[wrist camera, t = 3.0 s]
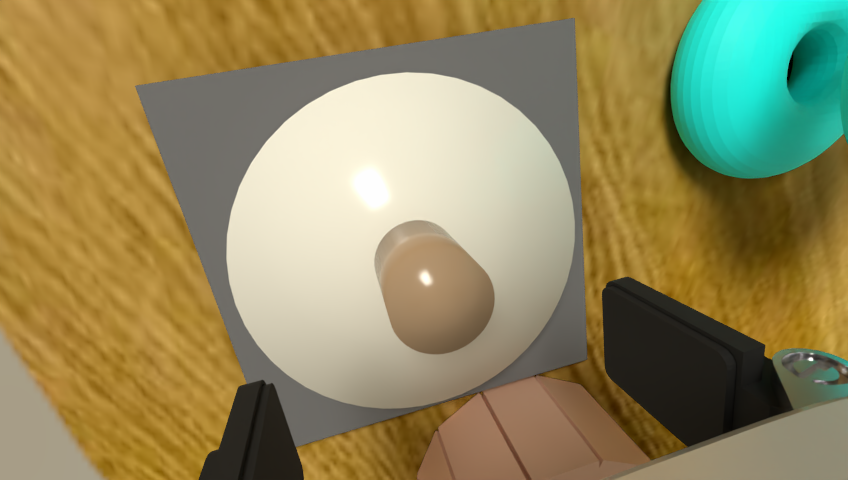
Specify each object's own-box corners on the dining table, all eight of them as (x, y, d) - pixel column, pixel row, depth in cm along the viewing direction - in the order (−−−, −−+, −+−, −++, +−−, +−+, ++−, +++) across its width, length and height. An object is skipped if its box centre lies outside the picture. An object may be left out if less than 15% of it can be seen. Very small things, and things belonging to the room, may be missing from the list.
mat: (566, 20, 18) (574, 17, 17) (580, 353, 23) (587, 359, 23) (142, 86, 15) (134, 85, 14) (274, 444, 21) (273, 453, 20)
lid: (552, 47, 17) (646, 20, 12) (571, 348, 22) (642, 418, 17) (175, 111, 15) (97, 111, 10) (289, 432, 20) (276, 540, 15)
